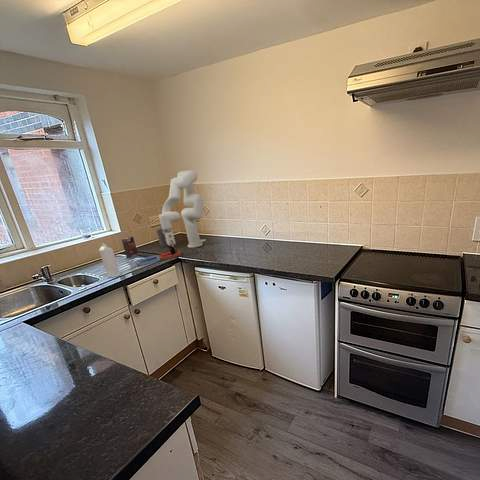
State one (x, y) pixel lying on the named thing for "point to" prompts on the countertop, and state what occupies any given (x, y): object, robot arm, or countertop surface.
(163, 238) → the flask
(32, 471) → the countertop surface
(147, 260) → the blue spoon
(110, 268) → the milk
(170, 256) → the terracotta tray
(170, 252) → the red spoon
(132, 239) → the supplement box
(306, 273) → the countertop surface
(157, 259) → the pale blue tray
